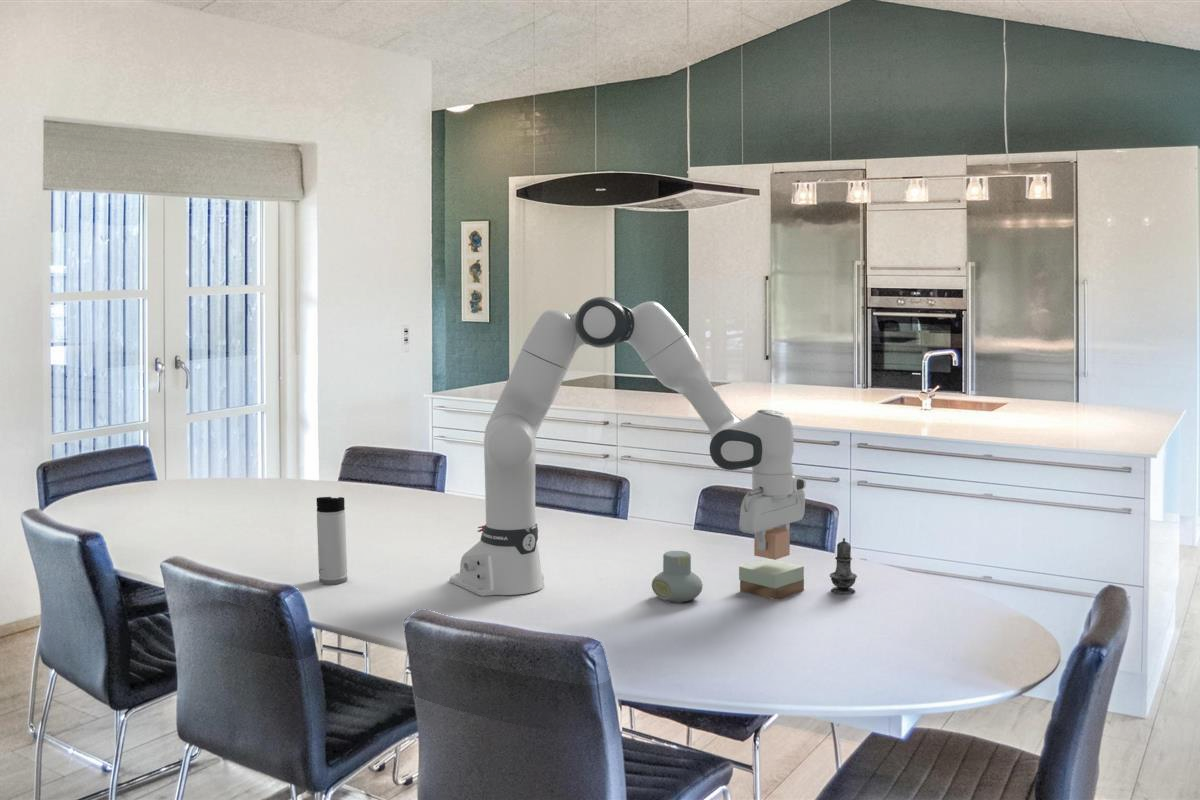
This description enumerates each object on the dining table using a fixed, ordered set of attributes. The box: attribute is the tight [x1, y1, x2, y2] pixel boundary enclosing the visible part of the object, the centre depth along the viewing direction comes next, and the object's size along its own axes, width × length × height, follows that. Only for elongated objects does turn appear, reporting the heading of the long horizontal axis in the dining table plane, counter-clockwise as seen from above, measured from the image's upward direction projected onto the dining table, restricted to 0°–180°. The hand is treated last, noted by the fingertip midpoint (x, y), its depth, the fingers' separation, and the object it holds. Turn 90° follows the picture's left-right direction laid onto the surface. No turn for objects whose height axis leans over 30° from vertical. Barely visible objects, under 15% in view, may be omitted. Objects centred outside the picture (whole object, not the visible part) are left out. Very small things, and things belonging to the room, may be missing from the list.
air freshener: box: [651, 550, 704, 604], centre depth 248 cm, size 11×8×10 cm
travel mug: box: [316, 496, 348, 586], centre depth 263 cm, size 6×7×20 cm
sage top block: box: [738, 558, 805, 589], centre depth 254 cm, size 10×10×3 cm
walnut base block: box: [739, 579, 805, 601], centre depth 254 cm, size 10×10×3 cm
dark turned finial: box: [829, 537, 858, 596], centre depth 253 cm, size 6×6×12 cm
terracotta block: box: [753, 527, 791, 560], centre depth 253 cm, size 6×6×6 cm
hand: (771, 546), depth 253 cm, fingers closed on terracotta block, 5 cm apart
